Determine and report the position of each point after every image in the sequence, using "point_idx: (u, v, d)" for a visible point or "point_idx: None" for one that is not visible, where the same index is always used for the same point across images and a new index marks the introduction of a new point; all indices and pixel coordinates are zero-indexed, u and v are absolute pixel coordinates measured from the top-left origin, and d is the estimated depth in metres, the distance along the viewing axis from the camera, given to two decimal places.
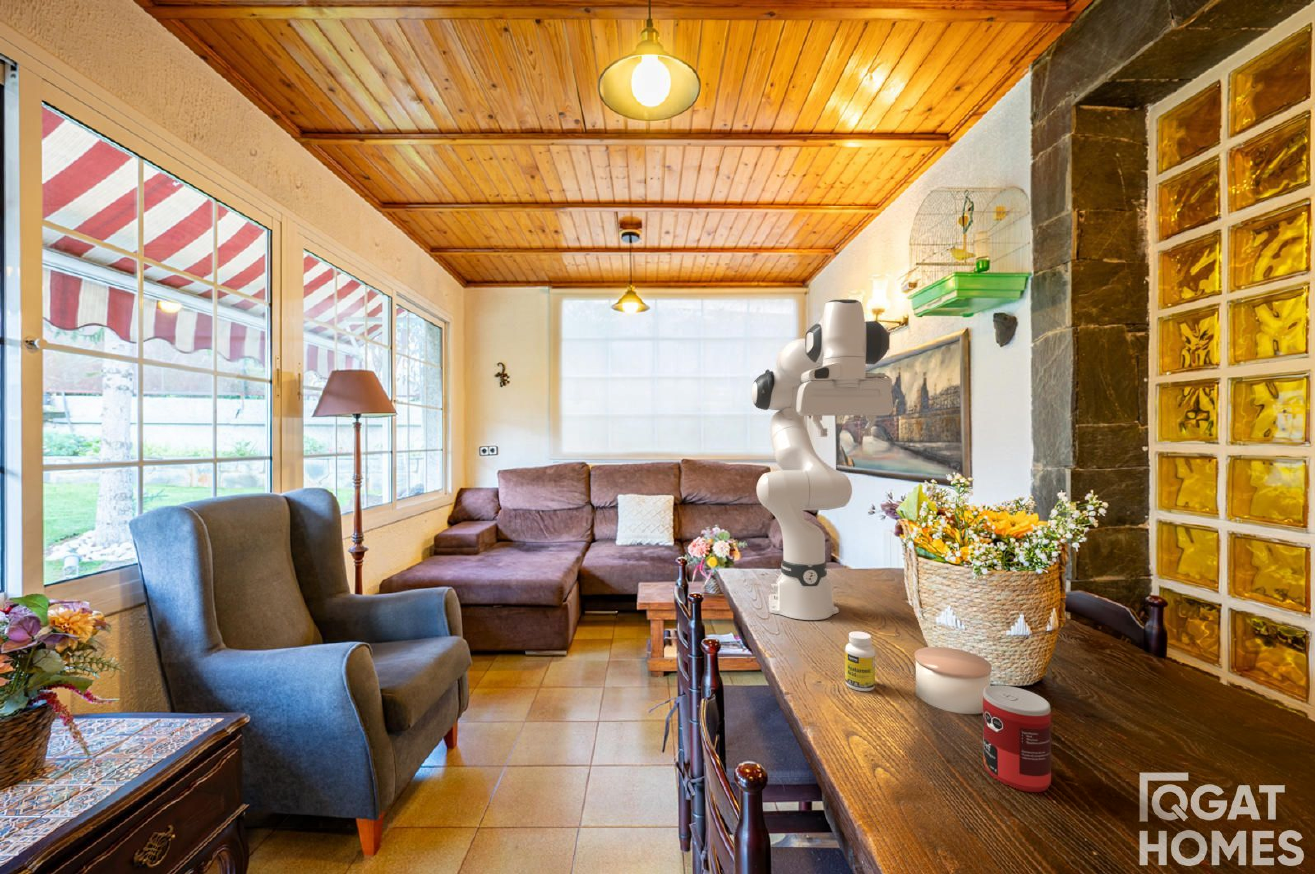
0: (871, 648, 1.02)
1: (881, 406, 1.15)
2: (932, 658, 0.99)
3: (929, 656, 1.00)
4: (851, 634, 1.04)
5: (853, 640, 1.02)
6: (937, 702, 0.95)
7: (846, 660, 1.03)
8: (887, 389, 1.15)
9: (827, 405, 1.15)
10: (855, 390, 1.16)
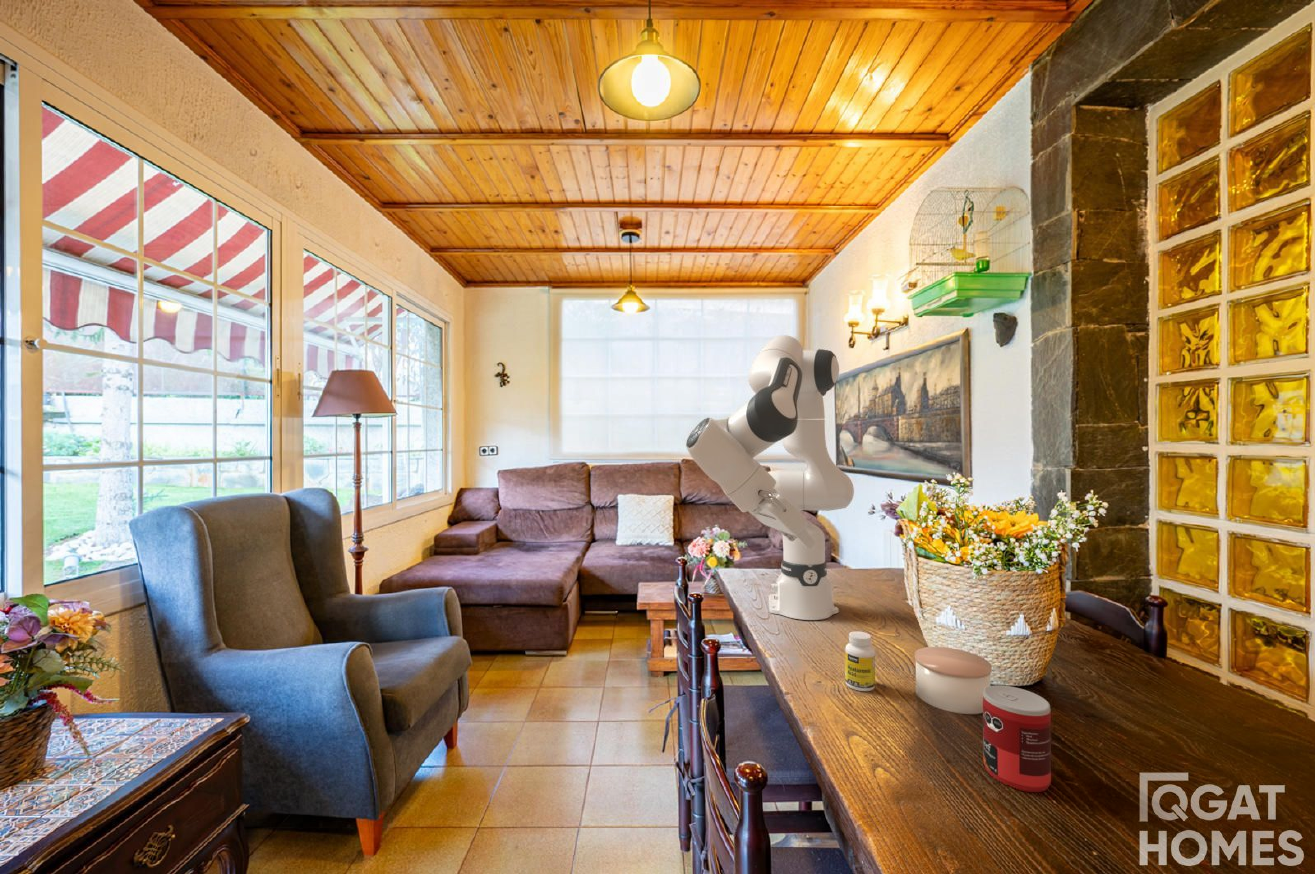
0: (871, 648, 1.02)
1: (785, 529, 0.96)
2: (932, 658, 0.99)
3: (929, 656, 1.00)
4: (851, 634, 1.04)
5: (853, 640, 1.02)
6: (937, 702, 0.95)
7: (846, 660, 1.03)
8: (773, 515, 0.94)
9: (765, 521, 1.07)
10: (764, 511, 1.01)
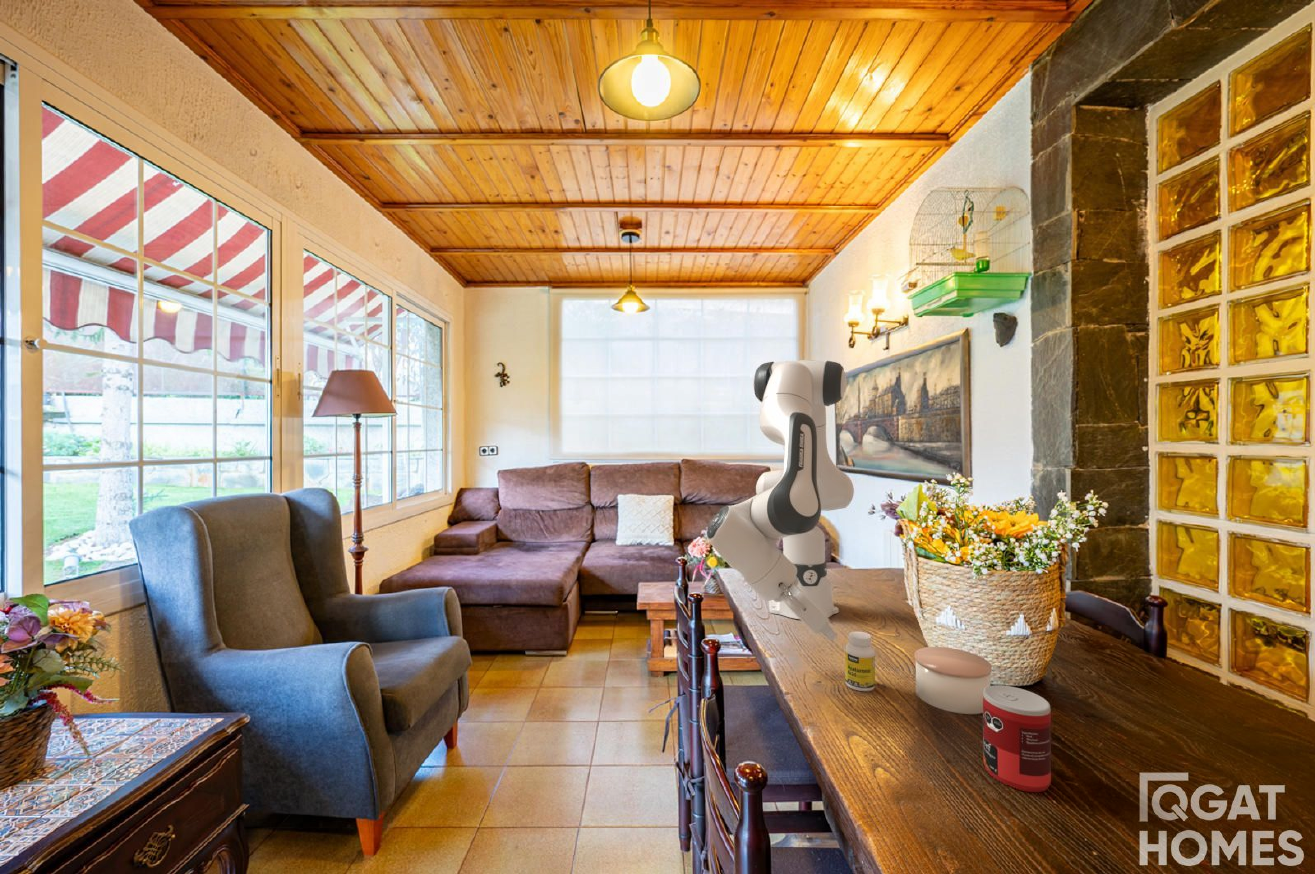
0: (871, 648, 1.02)
1: None
2: (932, 658, 0.99)
3: (929, 656, 1.00)
4: (851, 634, 1.04)
5: (853, 640, 1.02)
6: (937, 702, 0.95)
7: (846, 660, 1.03)
8: (793, 612, 0.95)
9: None
10: None
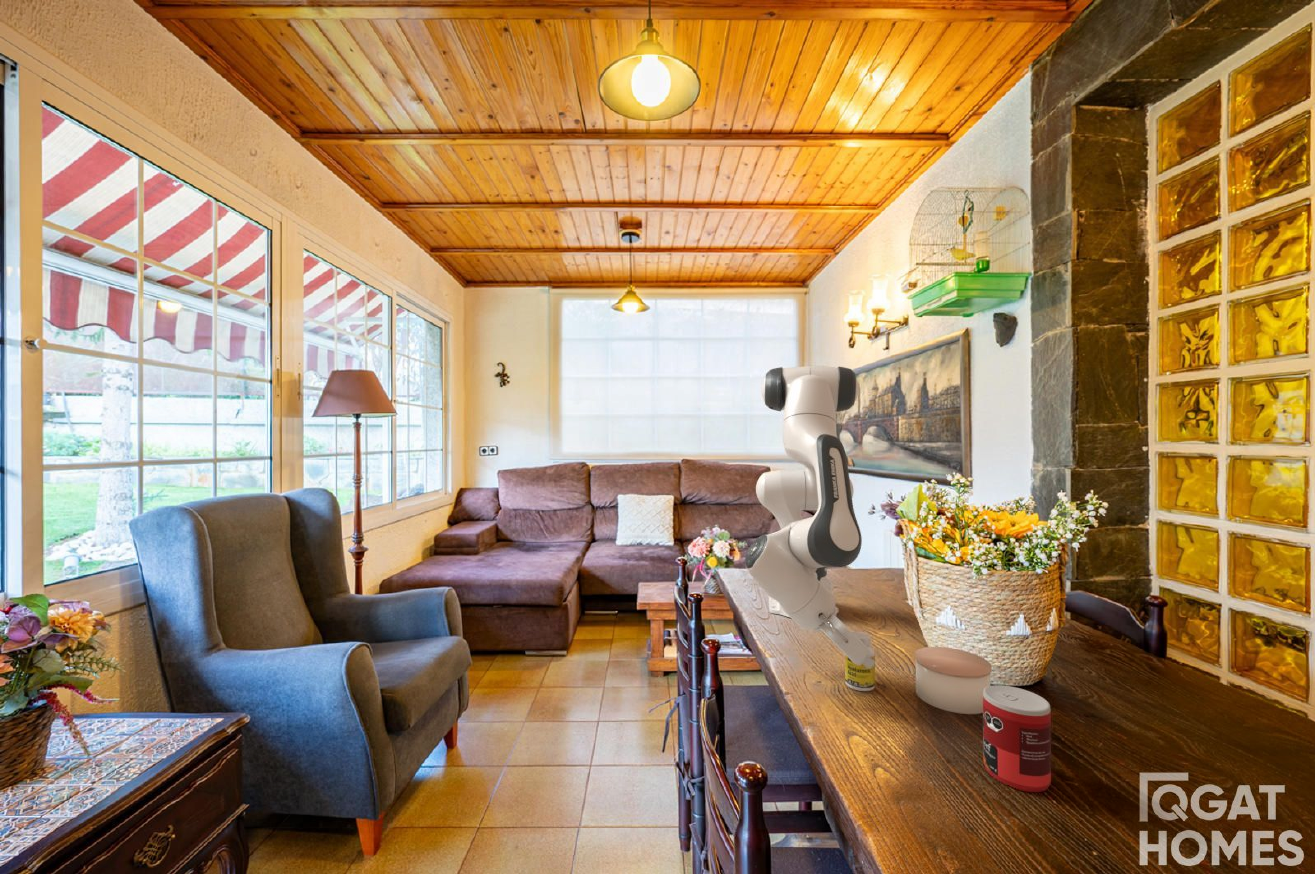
0: (871, 648, 1.02)
1: None
2: (932, 658, 0.99)
3: (929, 656, 1.00)
4: None
5: None
6: (937, 702, 0.95)
7: (846, 660, 1.03)
8: (835, 644, 0.95)
9: None
10: None
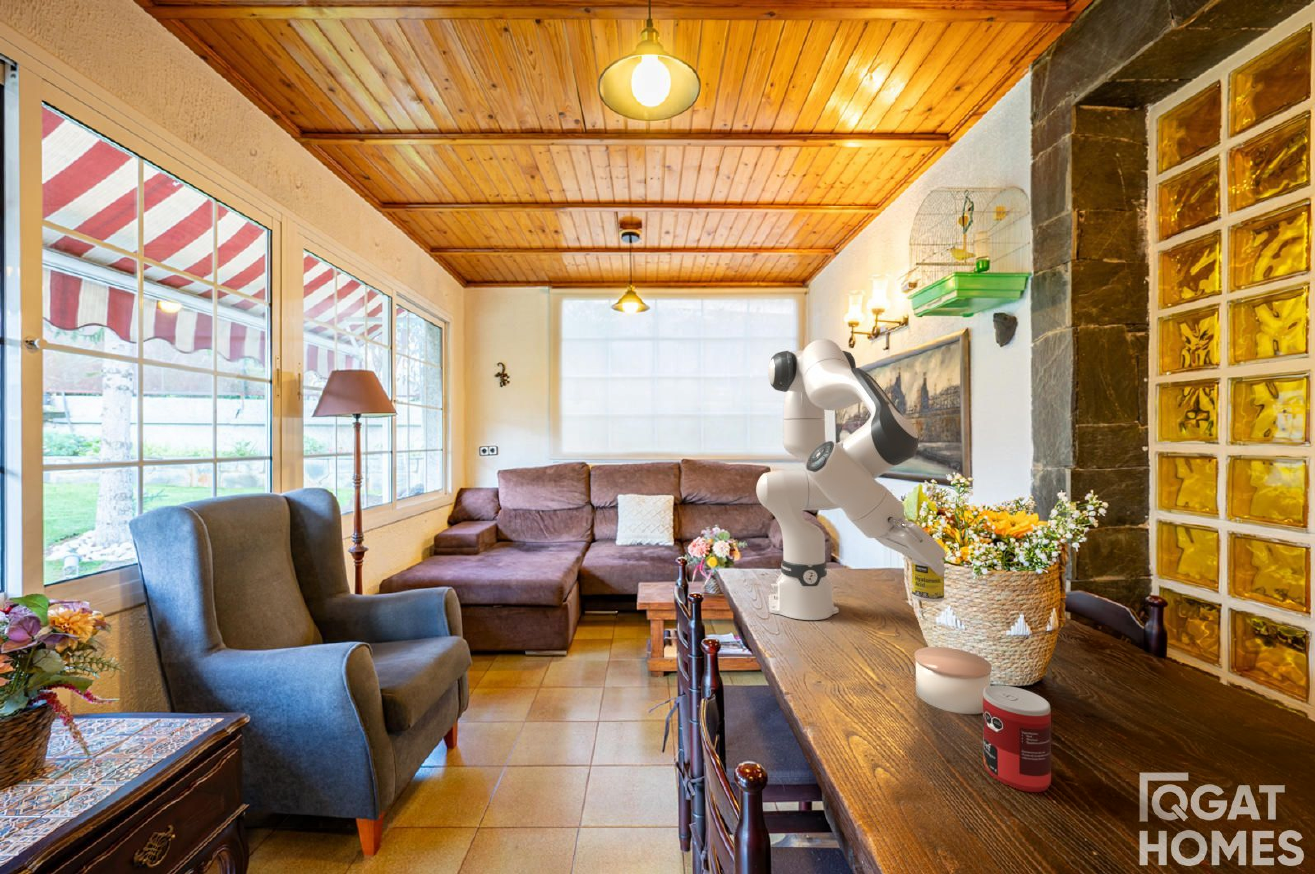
0: None
1: (919, 558, 0.92)
2: (932, 658, 0.99)
3: (929, 656, 1.00)
4: None
5: None
6: (937, 702, 0.95)
7: (913, 572, 1.00)
8: (908, 545, 0.91)
9: (889, 544, 1.04)
10: (892, 537, 0.98)
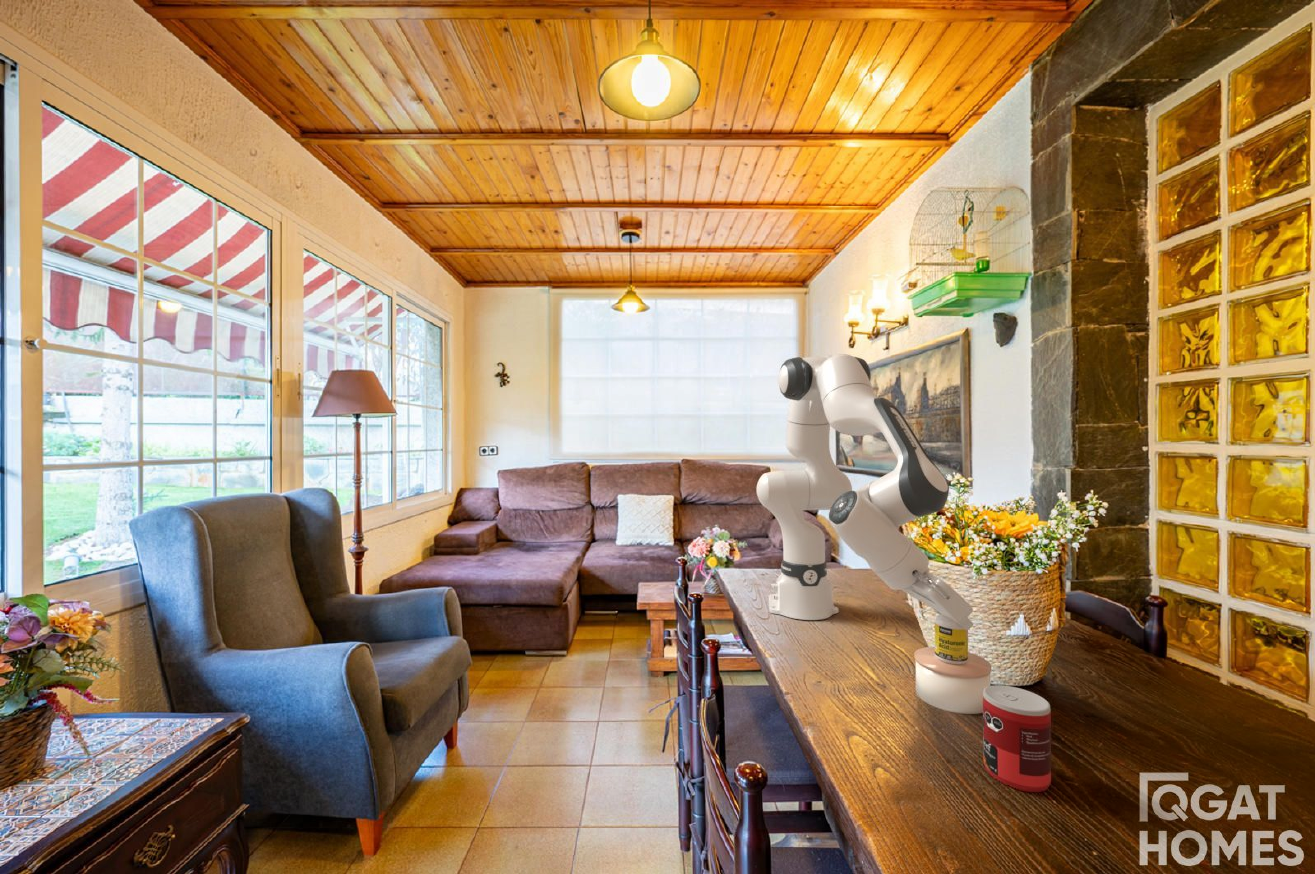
0: None
1: (945, 614, 0.91)
2: (932, 658, 0.99)
3: (929, 656, 1.00)
4: None
5: None
6: (937, 702, 0.95)
7: (937, 633, 0.99)
8: (934, 601, 0.90)
9: (911, 593, 1.03)
10: None
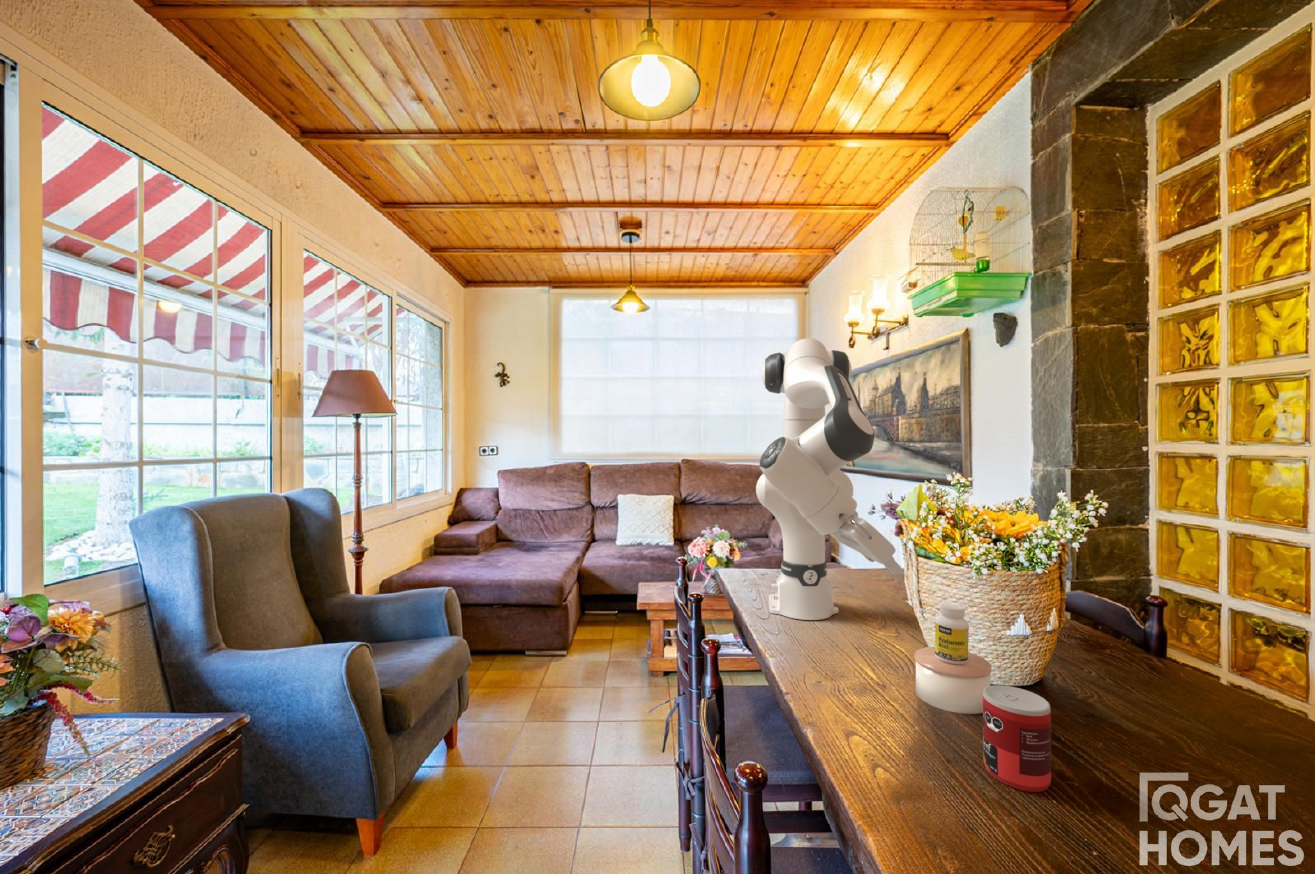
0: (964, 620, 0.98)
1: (870, 555, 0.91)
2: (932, 658, 0.99)
3: (929, 656, 1.00)
4: (942, 605, 0.99)
5: (945, 611, 0.98)
6: (937, 702, 0.95)
7: (937, 632, 0.99)
8: (857, 542, 0.90)
9: (844, 541, 1.03)
10: (844, 534, 0.97)
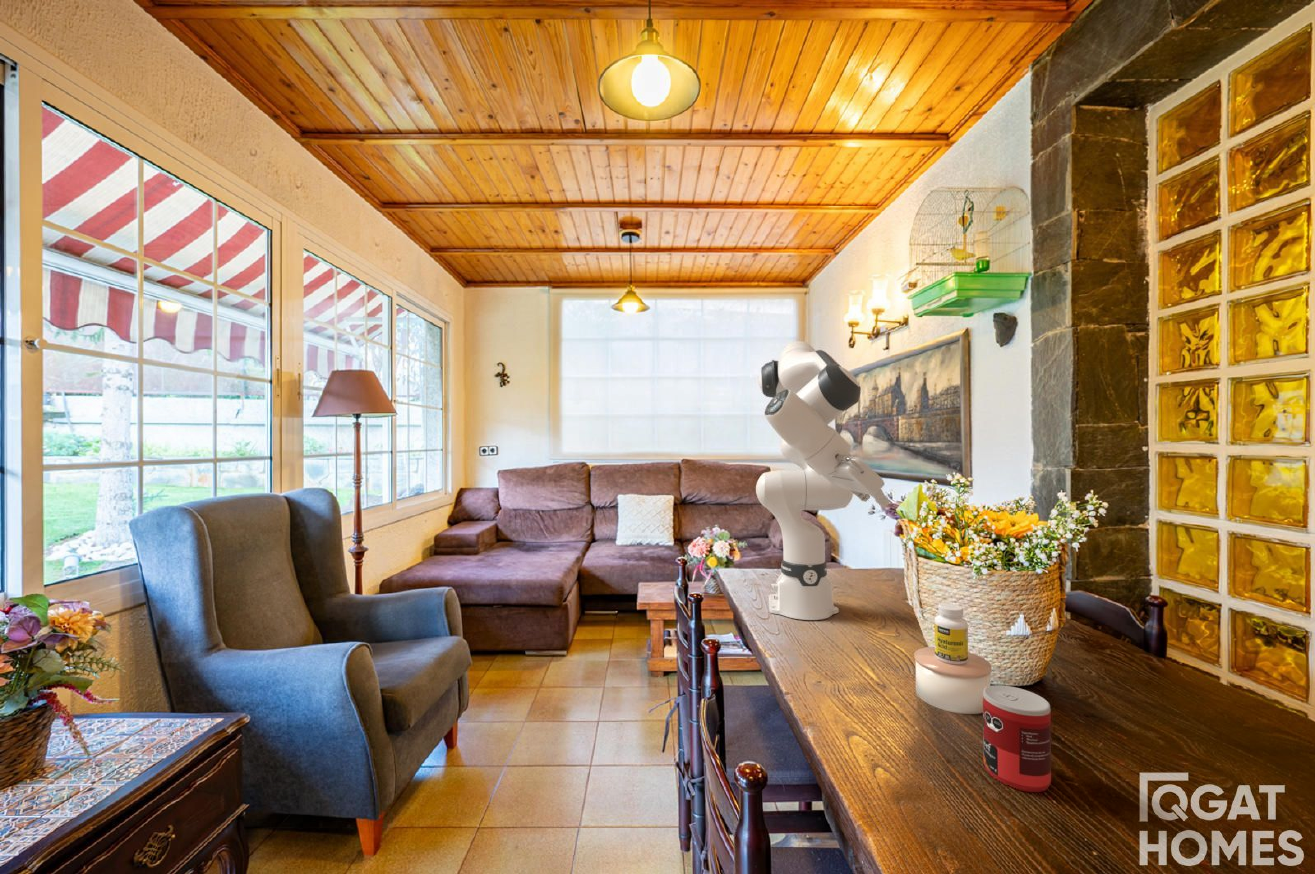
0: (963, 620, 0.98)
1: (862, 489, 1.04)
2: (932, 658, 0.99)
3: (929, 656, 1.00)
4: (941, 605, 0.99)
5: (943, 611, 0.98)
6: (937, 702, 0.95)
7: (936, 632, 0.99)
8: (851, 476, 1.03)
9: (840, 483, 1.16)
10: (840, 473, 1.10)
